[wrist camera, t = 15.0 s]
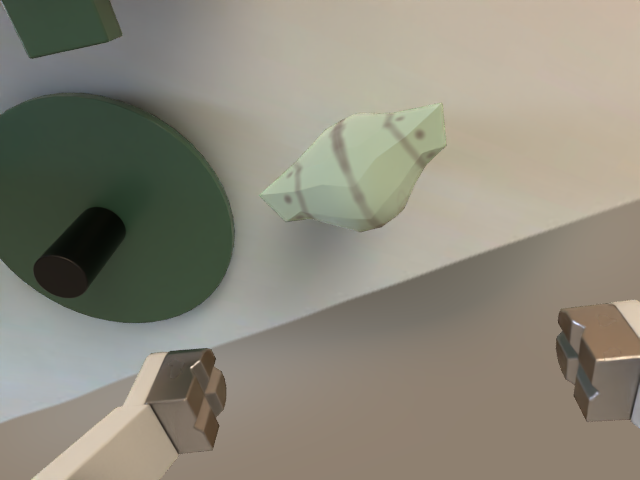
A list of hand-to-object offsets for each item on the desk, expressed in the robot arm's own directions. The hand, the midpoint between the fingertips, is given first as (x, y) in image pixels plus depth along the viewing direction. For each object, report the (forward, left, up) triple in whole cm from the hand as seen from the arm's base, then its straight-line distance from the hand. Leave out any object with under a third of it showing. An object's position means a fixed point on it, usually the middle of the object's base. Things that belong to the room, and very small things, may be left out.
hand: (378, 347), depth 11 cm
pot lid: (-14, -2, -13) cm, 19 cm away
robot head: (0, 0, -14) cm, 14 cm away
